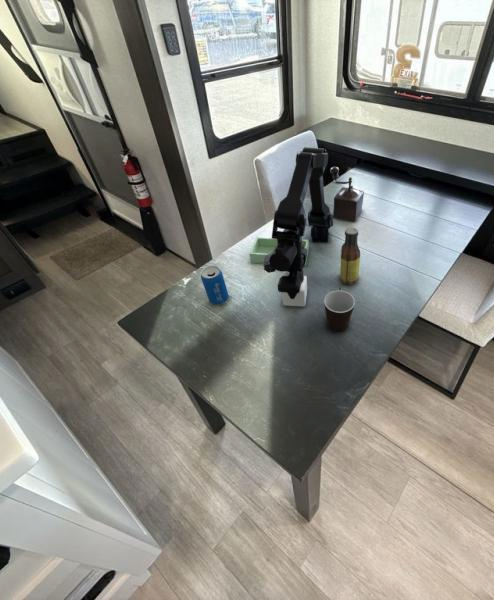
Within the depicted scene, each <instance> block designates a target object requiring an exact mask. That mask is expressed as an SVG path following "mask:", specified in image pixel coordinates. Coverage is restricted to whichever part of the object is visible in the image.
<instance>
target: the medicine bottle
mask: <svg viewBox="0 0 494 600" xmlns="http://www.w3.org/2000/svg"><path fill="white" fill-rule="evenodd" d="M289 273H290V272H287V271H285V272H283V276H289ZM293 277H294V276H293ZM297 277H298V278H300V279H301V287H300V292H299V293H297V295H296V297H295V298H294V299H290V297H289V295H288V293H285V292H281V297H282V305H283V306H285V307H286V306H288V307H305V306H306V304H307V303H306V302H307V295H308V279H307V275H305V274H304V269H303V270H302V272H301V271H298V276H297Z"/></svg>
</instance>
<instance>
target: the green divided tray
mask: <svg viewBox="0 0 494 600" xmlns="http://www.w3.org/2000/svg"><path fill="white" fill-rule="evenodd" d="M276 246H277V239H273V238H272V237H262V236H256V237H255V239H254V242H253V244H252V246H251V249H250V251H249V260H250V263H251V264H263V262H264V259H265V256H266V255H267V254H270V253H273V251H274V249H275V247H276ZM302 247H305V248H306V249H307V257H306V262H305V265H304V267H306V265H307V260H308V254H309V249H310V241H309V239H302Z"/></svg>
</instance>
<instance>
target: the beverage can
mask: <svg viewBox="0 0 494 600" xmlns="http://www.w3.org/2000/svg"><path fill="white" fill-rule="evenodd" d="M200 280H201V283H202V285H203V288H204V291H205V293H206V296H207V300H208V302H209V303H210V304H212V305H214V306H219V305H223V304H224V303H226V302H228V300H229V297H230V295H229V290H228V288H227V284H226V281H225V277H224V273H223V271H222V270H221V268H219V266H216V265H209V266H206V267H204V268H203V269H202V270H201V272H200Z"/></svg>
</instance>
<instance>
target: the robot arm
mask: <svg viewBox="0 0 494 600" xmlns="http://www.w3.org/2000/svg"><path fill="white" fill-rule="evenodd" d="M328 163H329V153H328V152H327V150H326V149H325V148H322V147H321V148H319V147H308V146H307V147H306V146H304V147H303V149H302V150H300V151H296V156H295V166H294V169H293V173H292V177H291V180H290V184H289V187H288V191H287V194H286V196H285V197H284V198H282V200H280V202H279V203H278V207H277V208H276V210H275V212H274V214H273V223H272V229H271V231H272V232H271V238H273V239H277V246H276V247H275V249H274V251H273V253H270V254H267V255H266V256H265V259H264V262H263V263H262V264H263V270H264V271H265V272H266V273H267V274H271V273H275V272H276V271H277V272H281V273H282V272H283V273H284V272H285V271H287V272H290V273H289V276H284V275H281V276H280V277H279V279H278V282H277V291H278V292H279V293H282V292H285V293H288V295H289V297H290V299H294V298H295V297H296V295H297V293H299V292H300V287H301V279H300V278H298V277H297V276H298V271H301V272H302V270H303V271H304V267H305V266H304V265H305V262H306V263H307V260H306V257H307V258H308V255H307V249H306V248H305V247H302V240H303V237H305V232H306V226H307V223H308V227H310V238H311V242H313V243H328V242H329V236H330V229H331V228H332V227H333V226H334V217H333V215H332V213H331V210H330V207H329V206H328V205H327V204H326V203H325V191H324V189H325V188H324V178H323V175H324V173H325V169H326V167H327V166H328ZM308 189H309V195H310V208H309V211H308V212H307V215H306V210H305V207H304V204H305V203H304V202H305V198H306V195H307V191H308ZM306 216H307V217H306ZM280 229H281V230H280ZM293 276H294V277H293Z"/></svg>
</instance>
